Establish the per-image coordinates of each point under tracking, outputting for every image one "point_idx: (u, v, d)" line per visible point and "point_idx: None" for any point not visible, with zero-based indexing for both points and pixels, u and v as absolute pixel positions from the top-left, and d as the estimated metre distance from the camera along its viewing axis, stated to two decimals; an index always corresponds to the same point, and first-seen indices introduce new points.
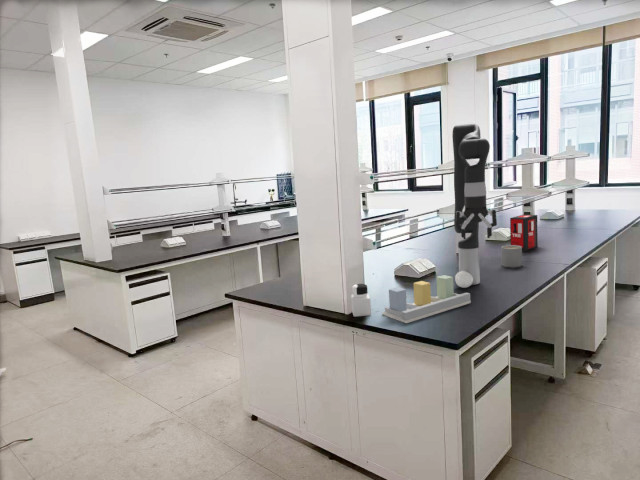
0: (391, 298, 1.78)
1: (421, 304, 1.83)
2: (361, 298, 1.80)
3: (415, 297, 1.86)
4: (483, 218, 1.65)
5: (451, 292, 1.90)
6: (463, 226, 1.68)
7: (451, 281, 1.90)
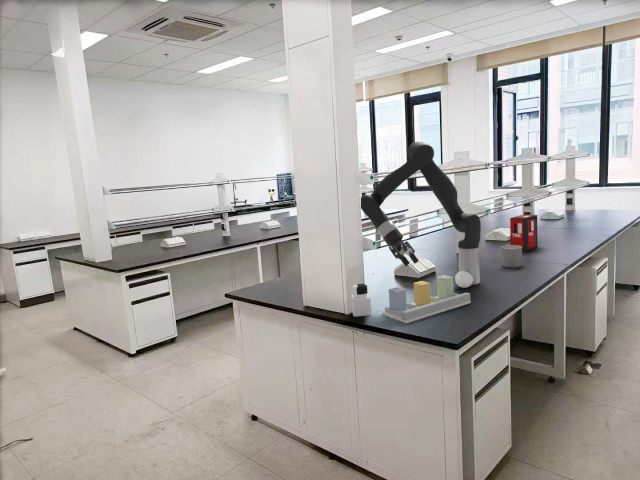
0: (391, 298, 1.78)
1: (421, 304, 1.83)
2: (361, 298, 1.80)
3: (415, 297, 1.86)
4: None
5: (451, 292, 1.90)
6: None
7: (451, 281, 1.90)
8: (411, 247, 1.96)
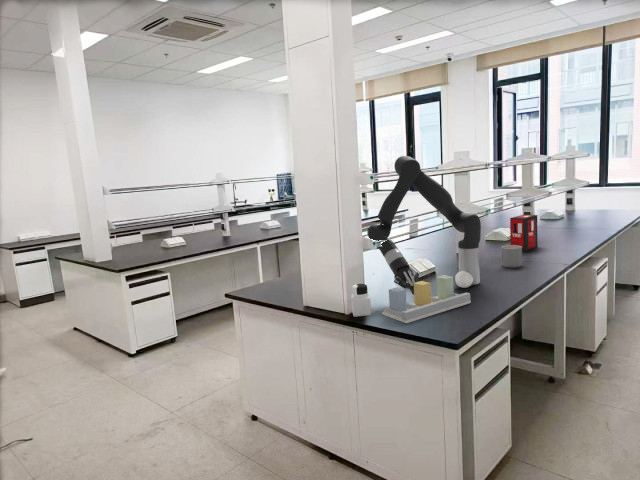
0: (391, 298, 1.78)
1: (421, 304, 1.83)
2: (361, 298, 1.80)
3: (415, 297, 1.85)
4: None
5: (451, 292, 1.90)
6: None
7: (451, 281, 1.90)
8: (417, 278, 1.92)
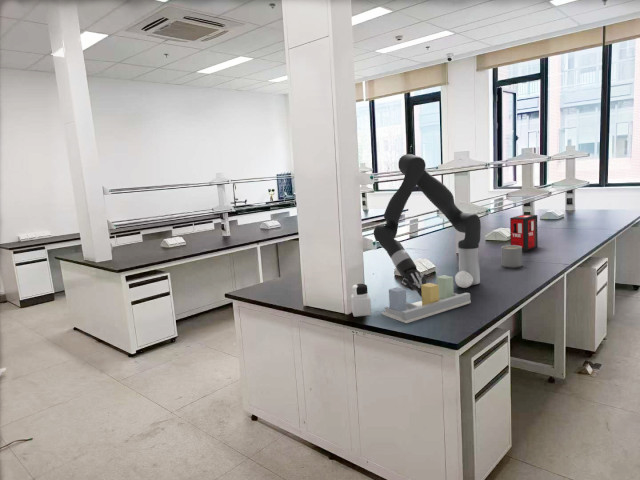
0: (391, 298, 1.78)
1: None
2: (361, 298, 1.80)
3: (423, 299, 1.82)
4: None
5: (451, 292, 1.90)
6: None
7: (451, 281, 1.90)
8: (424, 280, 1.88)
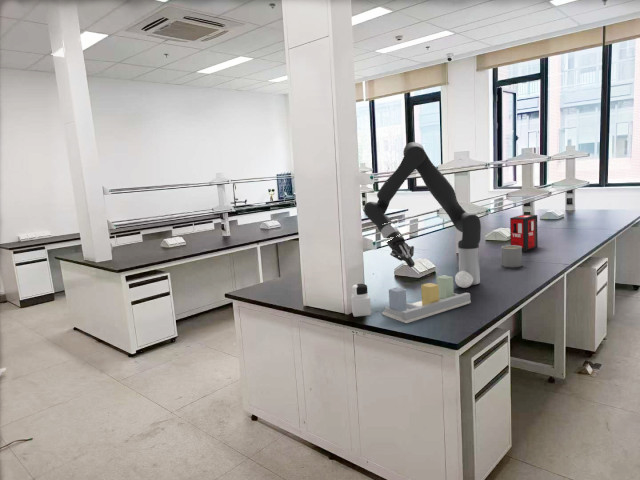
0: (391, 298, 1.78)
1: None
2: (361, 298, 1.80)
3: (423, 299, 1.82)
4: None
5: (451, 292, 1.90)
6: None
7: (451, 281, 1.90)
8: (412, 251, 2.01)
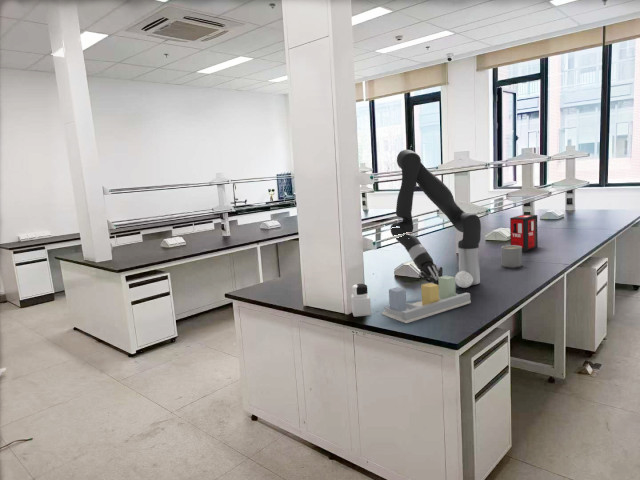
0: (391, 298, 1.78)
1: None
2: (361, 298, 1.80)
3: (423, 299, 1.82)
4: None
5: (453, 293, 1.89)
6: None
7: (453, 281, 1.89)
8: (440, 273, 1.97)
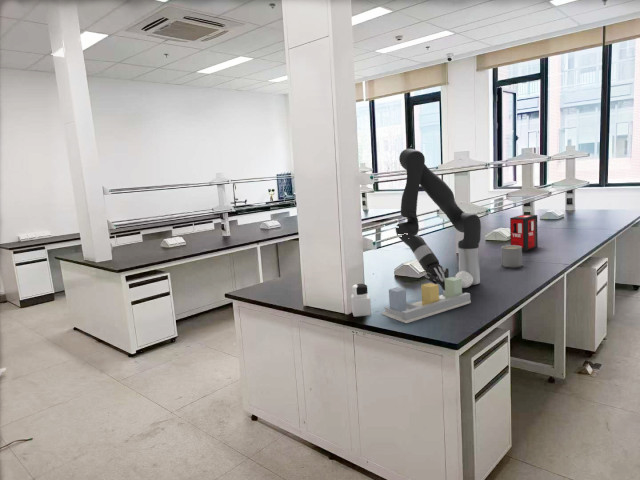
0: (391, 298, 1.78)
1: None
2: (361, 298, 1.80)
3: (423, 299, 1.82)
4: None
5: (459, 294, 1.86)
6: None
7: (460, 283, 1.86)
8: (447, 274, 1.94)
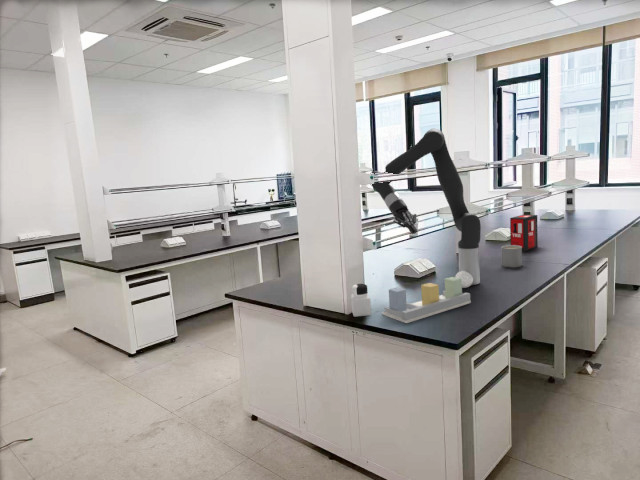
0: (391, 298, 1.78)
1: None
2: (361, 298, 1.81)
3: (423, 299, 1.82)
4: None
5: (459, 294, 1.86)
6: None
7: (459, 283, 1.86)
8: (414, 219, 2.06)
